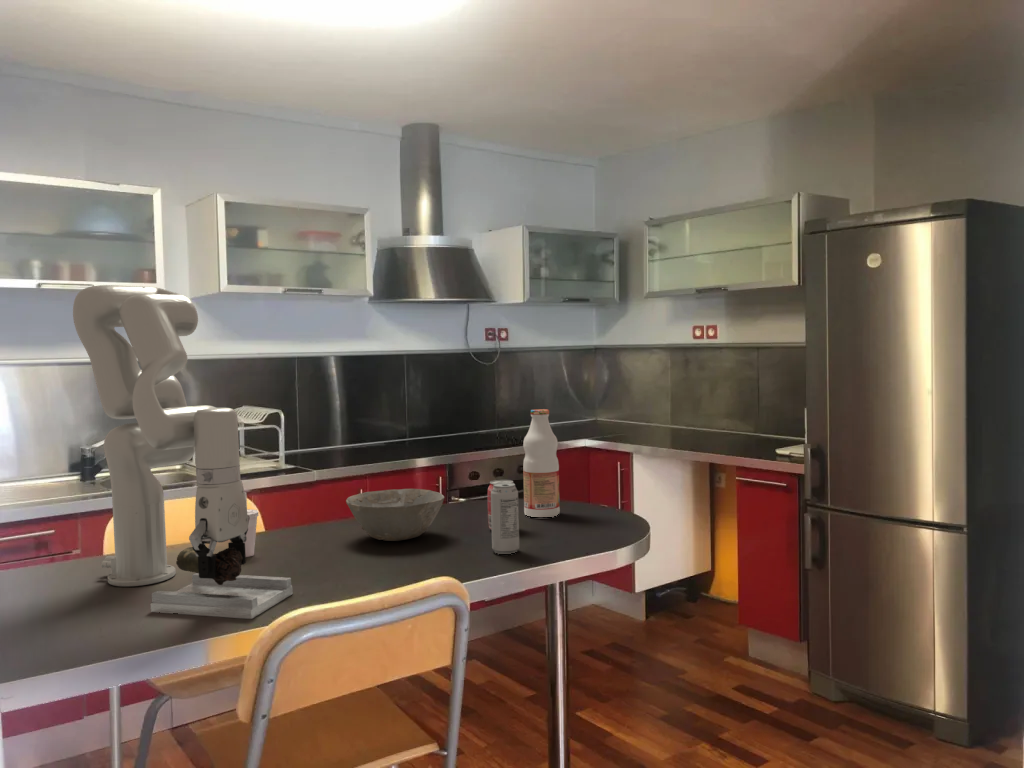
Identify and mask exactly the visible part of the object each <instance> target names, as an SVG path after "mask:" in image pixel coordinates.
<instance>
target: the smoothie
mask: <svg viewBox="0 0 1024 768" xmlns="http://www.w3.org/2000/svg"><path fill="white" fill-rule="evenodd" d="M244 492H245V491H244ZM245 498H246V506H247V507H248V502H247V500H248V497H247V492H245ZM247 515H249V516H250V520H249V524H248V531H247V534H246V538H247V540H246V542H243V543H245V554H246V558H249V557H252V556H254V555H255V547H256V545H255V544H256V536H257V526H258V525H257V523H258V522H257V521H258V517H259V516H260V514H259V510H257V509H248V508H247Z"/></svg>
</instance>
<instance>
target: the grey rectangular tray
mask: <svg viewBox="0 0 1024 768" xmlns="http://www.w3.org/2000/svg"><path fill="white" fill-rule="evenodd" d="M191 578H192V579H191V580H192V581H191V582H192V583H189V584H188V585H186V586H184V587H181V588H179V589H178V590H176V591H170V590H169V591H166V590H156V591H154V592H152V593H151V603H150V612H151V613H159V612H160V613H161V614H173V613H178V615H190V616H191V615H192V616H207V617H216V618H232V619H233V618H235V619H247V620H252V619H254V618H256V617H257V616H258V615H261V614H262V613H264V612H265V611H267V610H269V609H270V608H272V607H273V606H275V605H277V604H278V603H280V602H282V601H284V600H285V599H287V598H288V597H290V596H291V595H293V594H294V593H293V591H294V590H293V585H292V578H291V577H283V576H281V577H280V576H266V575H260V576H259V575H247V574H240V575H239V576H237V577H236V580H234V581H225V582H223V584H222V585H218V584H217V583H216V582H215V580H213V579H209V578H200V577H199V573H194V574H192V575H191Z"/></svg>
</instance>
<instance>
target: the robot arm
mask: <svg viewBox="0 0 1024 768" xmlns="http://www.w3.org/2000/svg"><path fill="white" fill-rule="evenodd" d="M72 306H73V307H72V317H73V323H74V324H73V325H74V328H75V331H76V334H77V336H78V337H79V340H80V342H81V344H82V346H83V348H84V349H85V351H86V353H87V355H88V358H89V360H90V361H89V362H90V364H91V367H92V373H93V376H94V380H95V384H96V389H97V392H98V397H99V401H100V404H101V407H102V409H103V412H104V414H105V415H106V416H107V417H109V418H110V419H114V420H132V419H135V420H136V421H137V422H131V423H130V422H129V423H124V424H122V425H121V424H120V425H118V426H116V427H113V428H112V429H111V430H109V431H108V433H107V434H106V436H105V438H104V440H103V441H104V442H103V451H104V455H105V459H106V464H107V468H108V472H109V473H108V474H109V478H110V480H109V481H110V486H111V503H112V519H113V521H112V522H113V537H114V539H113V540H114V555H106V556H105V557H104V560H102V561H101V562H100V563H101V564H100V566H101V568H107V569H109V568H110V569H111V570H110V571H111V572H110V574H108V575H107V583H108V584H109V585H112V586H115V587H138V586H139V587H140V586H148V585H152V584H153V585H154V584H157V583H162V582H164V581H166V580H169V579H171V578H173V577H174V576H175V575H176V573H177V572H176V567H175V566H173V565H170V564H168V556H167V555H168V554H167V533H166V511H165V493H164V489H163V486H162V484H161V482H160V481H159V479H157V477H156V476H155V475H154V474H153V472H152V469H157V468H163V467H168V466H175V465H180V464H184V463H187V462H189V461H190V460H191V459H192V458H193V457H195V458H194V459H195V475H196V477H195V478H196V479H195V480H196V491H195V493H196V494H195V505H194V524H195V528H194V529H193V530H192V532H191V533H190V535H189V537H188V540H189V542H190V544H191V547H192V548H193V550H194V551H195V552H196V553H195V554H196V556H198V569H199V577H200V578H209V579H214V578H216V576H217V575H216V556H214V555H213V554H215V551H216V550H215V549H216V546H217V543H224V542H227V541H229V542H228V545H227V548H233V547H234V548H235V549H236V550H237V551H240V553H241V555H242V563H241V566H242V565H245V564H246V563H247V557H246V554H245V543H243V542H246V540H247V538H246V534H247V531H248V524H249V520H250V516H249V515H247V509H248V505H247V506H246V498H245V489H244V485H243V482H242V481H243V480H241V465H240V463H241V462H240V445H239V444H240V442H239V420H238V419H239V418H238V414H237V411H236V410H234V408H230V407H216V406H213V405H205V404H204V405H203V404H201V405H193V406H189V405H188V404H187V400H186V396H185V392H184V390H183V387H182V384H181V383H180V381H179V380H178V378H177V377H176V376H175V375H176V374H178V373H179V372H181V370H183V368H184V367H185V366H186V365H187V362H188V354H187V351H186V349H185V347H184V345H183V343H182V341H181V339H180V337H188V336H190V335H192V334H193V333H194V332H195V330H197V327H198V325H199V323H198V322H199V316H198V315H199V314H198V312H197V308H196V306H195V304H194V303H193V301H191V299H190V298H188V297H187V296H186V295H183V294H182V293H181V294H180V293H177V292H173V291H170V290H167V289H164V288H161V287H155V286H141V285H140V286H137V285H136V286H135V285H132V286H131V285H120V284H119V285H116V284H115V285H114V284H103V285H102V284H101V285H93V286H88V287H85V288H83V289H81V290H80V291H79V292H78V293H77V294H76V295H75V298H74V300H73V304H72ZM115 328H124V330H125V333H126V335H127V338H128V340H129V341H128V340H127V339H126V338H125V337H124V336H123V335H122V334H121V333H119V332H118V331H116V329H115ZM206 544H209V545H208V547H207V545H206Z"/></svg>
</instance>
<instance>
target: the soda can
mask: <svg viewBox="0 0 1024 768" xmlns="http://www.w3.org/2000/svg"><path fill="white" fill-rule="evenodd" d="M496 483H514V481H513V480H511V479H494V480H490V481H489V486H488V488H487V522H488V528H489V529H490V530H491V531H492V525H491V491H492V489H493V487H494V486H493V485H494V484H496Z"/></svg>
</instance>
